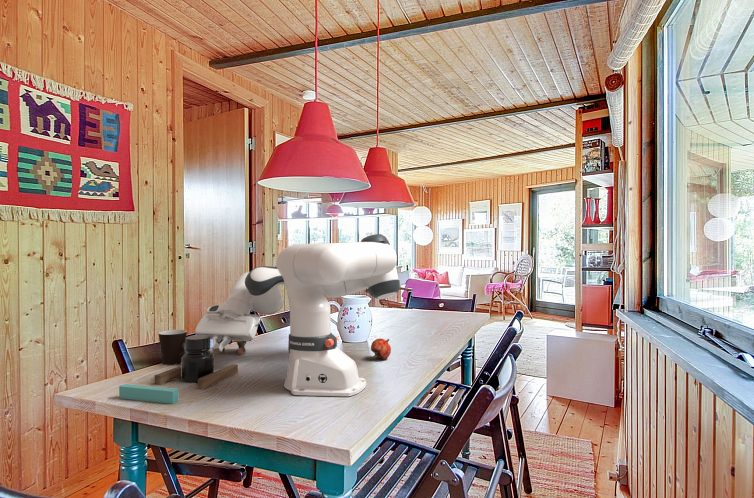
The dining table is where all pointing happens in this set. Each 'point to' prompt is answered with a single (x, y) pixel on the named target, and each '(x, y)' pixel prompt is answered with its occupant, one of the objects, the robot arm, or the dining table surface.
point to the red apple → (380, 348)
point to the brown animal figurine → (240, 344)
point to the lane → (203, 381)
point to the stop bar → (148, 393)
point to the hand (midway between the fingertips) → (216, 350)
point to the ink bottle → (197, 358)
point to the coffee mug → (172, 346)
